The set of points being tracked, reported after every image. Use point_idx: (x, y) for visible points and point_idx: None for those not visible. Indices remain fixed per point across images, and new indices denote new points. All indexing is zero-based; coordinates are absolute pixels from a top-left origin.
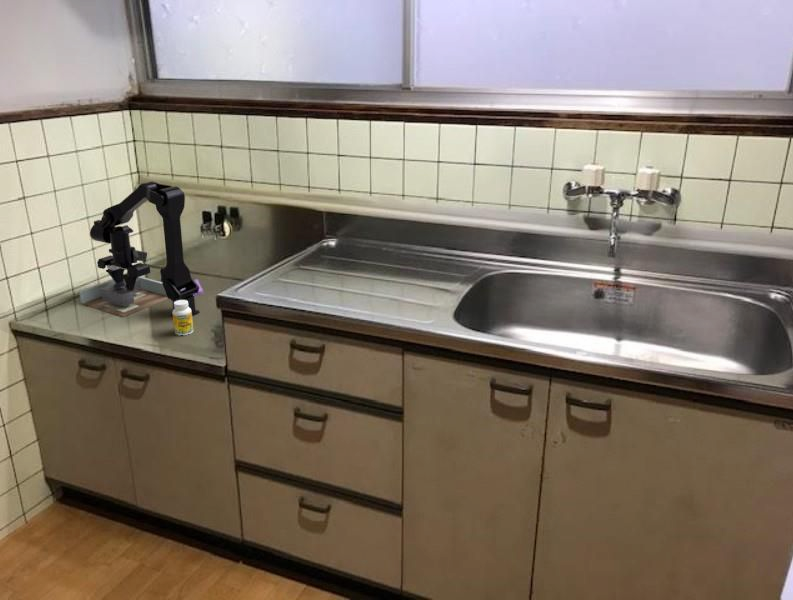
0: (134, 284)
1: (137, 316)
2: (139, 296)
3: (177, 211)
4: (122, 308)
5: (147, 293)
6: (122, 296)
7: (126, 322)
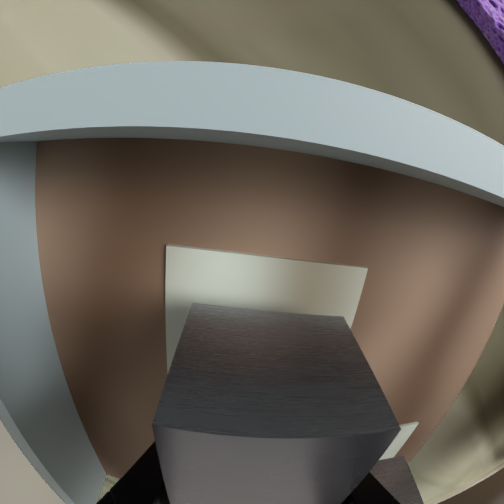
0: (378, 487)
1: (436, 452)
2: None
3: None
4: None
5: (354, 228)
6: None
7: None
